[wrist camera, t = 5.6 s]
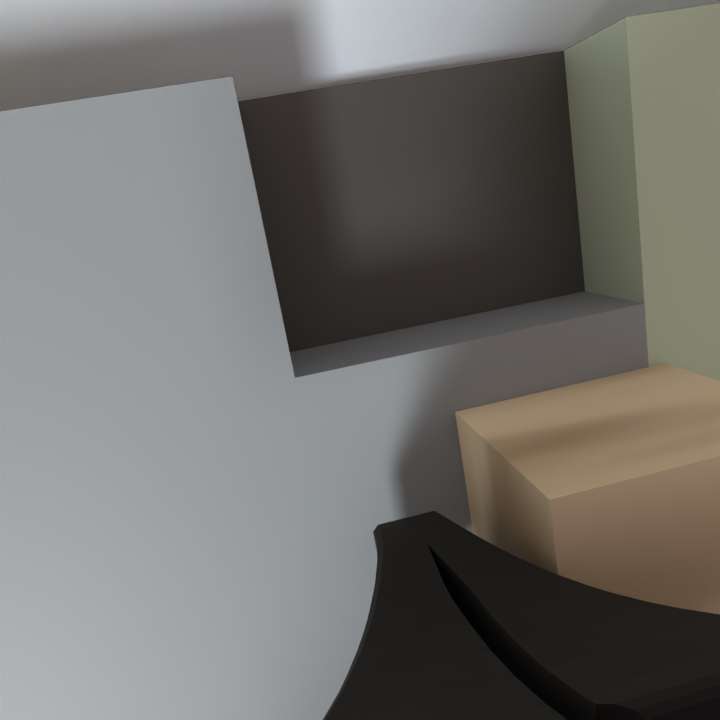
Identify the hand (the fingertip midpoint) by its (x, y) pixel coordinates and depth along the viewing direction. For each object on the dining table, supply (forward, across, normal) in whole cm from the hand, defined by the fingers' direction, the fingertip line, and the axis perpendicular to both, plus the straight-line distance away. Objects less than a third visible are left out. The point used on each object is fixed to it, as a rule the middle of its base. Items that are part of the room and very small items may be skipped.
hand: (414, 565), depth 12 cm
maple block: (+1, -4, 0) cm, 4 cm away
